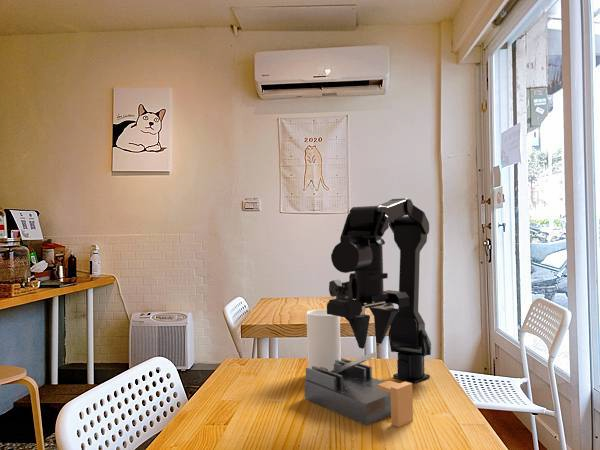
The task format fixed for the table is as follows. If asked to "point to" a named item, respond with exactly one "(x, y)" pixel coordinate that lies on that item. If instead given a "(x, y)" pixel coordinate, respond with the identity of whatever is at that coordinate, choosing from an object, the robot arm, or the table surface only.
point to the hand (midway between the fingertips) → (370, 345)
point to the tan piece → (399, 401)
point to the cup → (323, 339)
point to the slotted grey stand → (348, 392)
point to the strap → (354, 363)
